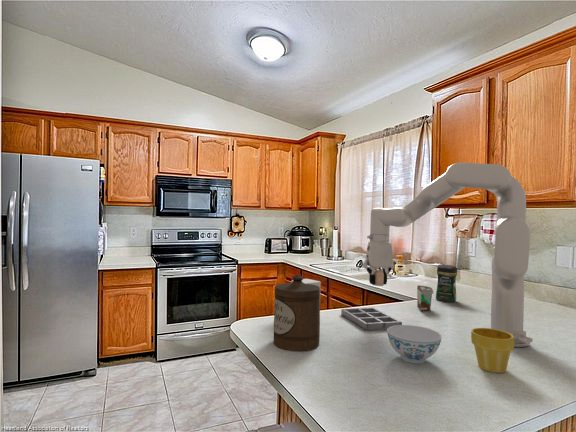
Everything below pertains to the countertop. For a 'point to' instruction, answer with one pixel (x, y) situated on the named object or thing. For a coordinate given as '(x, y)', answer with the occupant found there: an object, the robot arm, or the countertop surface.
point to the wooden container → (297, 315)
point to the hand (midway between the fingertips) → (378, 283)
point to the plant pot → (492, 348)
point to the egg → (379, 278)
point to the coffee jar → (446, 283)
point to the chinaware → (414, 342)
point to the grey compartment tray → (370, 318)
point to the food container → (424, 297)
